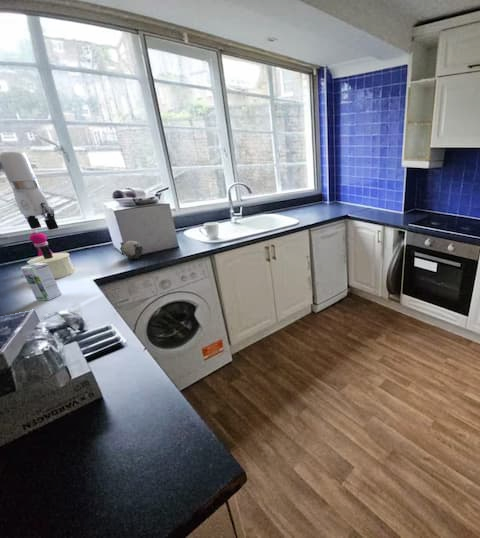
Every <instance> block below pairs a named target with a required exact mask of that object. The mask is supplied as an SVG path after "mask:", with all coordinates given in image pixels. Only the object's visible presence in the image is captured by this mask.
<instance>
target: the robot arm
mask: <svg viewBox="0 0 480 538" xmlns="http://www.w3.org/2000/svg"><path fill="white" fill-rule="evenodd" d="M0 173H4V174H5V177H6V179H7V181H8V183H9V185H10V187H11V189H12V193H13V197H14V199H15V202H16V205H17V207H18V209H19V212H20V214H21V215H22V216H24V219H25V220H26V221H27V223H28V225H29V227H30V229H31V230H36V229H39V228H40V229H41V228H42V225H41V223H40V220H39V218H38V216H39V217H40V216H41V217H42V218H43V219H44V223H45V225H46V228H47V230H49V231H52V230H56V229H59V226H58V223H57V221H56V216H55V215H56V213H55V209H54V207H52V206H50V204H49V202H48V200H47V198H46V196H45V194H44V193H43V191H42V189H41V186H40V183H39V181H38V178H37V176H36V175H35V172H34V170H33V167H32V165H31V162H30V160H29V158H28V156H27V154H26V153H24V152H22V151H0Z"/></svg>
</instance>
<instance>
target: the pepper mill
mask: <svg viewBox="0 0 480 538" xmlns="http://www.w3.org/2000/svg"><path fill="white" fill-rule="evenodd" d="M47 240H48V237H47V235H46V234H45V233H42V232H38V230H37V229H33V230H32V234H30V236H29V241H30V242H31V243H33V245H34V247H35V248H36V249H37V251H38V255H37V257H40V256H43V255H42V252H41V250H40V248H39V246H42V245H48V246H49V242H48V241H47ZM50 251H51V253H52V254H54V253H55V252H53V251H52V250H51V249H50Z"/></svg>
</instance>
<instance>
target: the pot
mask: <svg viewBox="0 0 480 538" xmlns="http://www.w3.org/2000/svg"><path fill="white" fill-rule="evenodd" d="M47 264H48V266H49V268H50V270H51V272H52V275H53V277H54V279H55V280H58V279H61V278H65V277H67V276H71V275H72V273H73V274H74V273H75V272H76V267H75V266H74V264H73V262H72V260H71V257H70V255H69V256H68V257H66V258H64V259H61V260H58V261H54V262H49V263H47Z"/></svg>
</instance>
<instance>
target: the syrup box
mask: <svg viewBox="0 0 480 538" xmlns="http://www.w3.org/2000/svg"><path fill="white" fill-rule="evenodd" d="M20 270H21V272H22V275H23V276H24V278H25V280H26V282H27V284H28V285H29V288H30V290H31V293H32V294H33V296H34V298H35V300H36V301H45V302H48V301H50V300H53V299H54V298H58V297H60V296H62V295H63V294H62V292H61V290H60V287H59V286H58V283H57V281H56V279H54V277H53V275H52V272H51V270H50V268H49V266H48V264H47V263H34V264H26V265H24V266H21V267H20Z"/></svg>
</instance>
